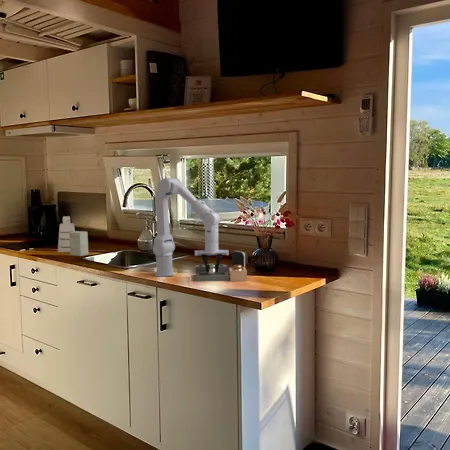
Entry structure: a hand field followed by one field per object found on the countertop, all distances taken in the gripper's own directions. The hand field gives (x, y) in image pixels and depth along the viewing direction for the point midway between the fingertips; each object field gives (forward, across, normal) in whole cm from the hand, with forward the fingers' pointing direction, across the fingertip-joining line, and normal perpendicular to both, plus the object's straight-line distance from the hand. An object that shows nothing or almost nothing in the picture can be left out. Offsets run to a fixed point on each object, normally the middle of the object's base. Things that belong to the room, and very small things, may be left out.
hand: (211, 271), depth 213 cm
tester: (+4, 0, +2) cm, 4 cm away
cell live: (+3, 0, 0) cm, 3 cm away
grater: (+4, -81, +86) cm, 118 cm away
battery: (+4, +13, +6) cm, 15 cm away
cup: (+4, +11, -2) cm, 12 cm away
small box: (+4, -71, +70) cm, 100 cm away
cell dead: (+3, +11, -2) cm, 12 cm away
